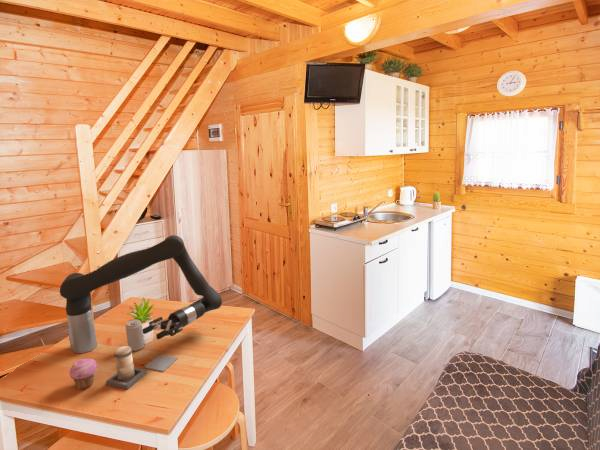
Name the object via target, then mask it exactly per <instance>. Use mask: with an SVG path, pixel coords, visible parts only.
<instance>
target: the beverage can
mask: <svg viewBox="0 0 600 450" xmlns="http://www.w3.org/2000/svg"><path fill="white" fill-rule="evenodd" d="M135 323H136V324H135ZM125 324H126V325H125V332H126V333H125V334H126V339H127V341H126V342H127V346H130V347H131V348H132V352H137V351H141V350H142V349H143V348H144V346H145V338H144V334H143V329H144V328H143V323H142V321H141V320H140V319H131V320H129V321H127V322H126V323H125Z"/></svg>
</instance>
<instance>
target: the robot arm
mask: <svg viewBox="0 0 600 450" xmlns="http://www.w3.org/2000/svg"><path fill="white" fill-rule="evenodd" d="M170 259H173V260H174V261H175V263H176V264H177V265H178V267H179V268H180V270H181V272H182V274H183V276H184V278H185V280H186V281H187V283H188V284H189V286H190V288H191V289H192V291H193V292H194V293H195V295H197V296H200V297H201V298H199V299H198V300H196V301H195V302H193V303H191V304H189V305H187V306H183V307H181V308H178V309H177V310H175V311H173V312H171V313H170V314H168V318H165V319H163V316H159V317H157V318H156V319H153V320H151V321H149V322H148V324H149V325H148V326H146V327H144V328H143V335H146V334H148V333H151V332H152V331H155V330H157V331H160V332H158V333H156V335H155V336H156V337H155V338H156V339H157V340H161V339H162V338H165V337H166V336H170V337H174V336H175V335H176V334H179V333H180V332H182V331H183V328H184V327H186V326H188V325H190V324H192V323H193V322H195V321H196V320H198V319H199V318H202V317H203V316H204V315H205V314H206V313H208V312H211V311H215V310H218V309H220V308H221V307H222V304H223V301H222V300H223V299H222V297H221V295H220V294H219V292H217V290H215V289H214V288H213V287H212V286H211V285H210V284H209V283H208V281H207V280H206V278H205V277H204V275H203V274H202V273H201V271H200V269H198V267H197V265H196V263H195V262H194V260H192V257H191V256H190V255H189V252H188V251H187V248H186V246H185V243H184V240H183V239H182V237H180V236H178V235H176V234H174V235H173V234H171V235H169V236H167V237H166V238H165V239H163V240H162V241H161V242H158V243H157V244H155V245H152V246H150V247H147V248H145V249H141V250H135V251H132V252H128V253H126V254H123V255H120V256H118V257H116V258H113V259H112V260H110V261H108V262H106V263H104V264H103V265H101V266H100V267H98V268H97V269H94V271H91V272H88V273H86V274H83V273H80V272H73V273H70V274H68V275H67V276H66V278H65V279H64V280H63V282H61V284H60V287H59V294H60V296H61V297H62V298H63V299H66V302H65V303H66V306H65V313H66V318H67V324H68V329H67V332H68V339H69V344H70V350H71V351H72V352H73V353H75V354H83V353H88V352H90V351H92V350H94V349H95V348H96V347H98V341H97V340H98V339H97V333H96V328H95V320H94V315H93V309H92V308H93V307H92V294H91V293H92V292H94V291H95V290H97V289H99V288H101V287H104V286H108V285H109V284H112V283H115V282H118V281H121V280H122V279H123V280H124V279H125V278H129V277H130V276H132V275H136V274H137V273H139V272H142V271H144V270H145V269H148V268H149V267H151V266H154V265H155V264H157V263H161V262H164V261H167V260H170ZM161 330H162V331H161Z"/></svg>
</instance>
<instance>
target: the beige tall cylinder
mask: <svg viewBox="0 0 600 450" xmlns="http://www.w3.org/2000/svg"><path fill="white" fill-rule="evenodd" d="M113 354H114V357H115V358H114V359H115V365H116V373H118V379H117V381H121V382H126V383H128V382H129V381H130V380H131V379H132V378H134V377H135V376H136V374H135V372H134V368H135V365H134V360H133V351H132V348H131V347H130V346H128V345H124V346H120V347H118V348H116V349H115V350H114V351H113Z"/></svg>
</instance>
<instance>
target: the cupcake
mask: <svg viewBox="0 0 600 450" xmlns="http://www.w3.org/2000/svg"><path fill="white" fill-rule="evenodd" d="M69 369H70V370H69V377H70V378H71V379H72V380H73V381H74V382H75V385H76V389H78V390H82V389H86V388H89V387H91V386H92V385H94V381H95V373H96V372H97V369H98V364H97V361H96V360H95V359H93V358H80V359H78V360H76V361H74V362H73V364H72V366H71V367H70V368H69Z"/></svg>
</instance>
